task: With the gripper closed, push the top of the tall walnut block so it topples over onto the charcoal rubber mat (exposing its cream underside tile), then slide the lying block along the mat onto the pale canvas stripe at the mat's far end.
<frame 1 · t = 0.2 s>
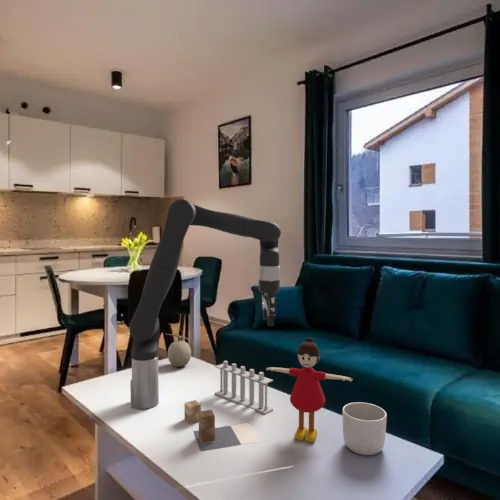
hand: (268, 323, 151), 29 cm above the table, fingers open, 8 cm apart
fruit: (180, 366, 192), on the table
mat: (226, 437, 128), on the table
walnut block: (206, 439, 126), resting on mat
planter: (363, 448, 123), on the table
test tube rack: (242, 402, 153), on the table
oak block: (192, 421, 138), on the table
toy: (307, 435, 130), on the table
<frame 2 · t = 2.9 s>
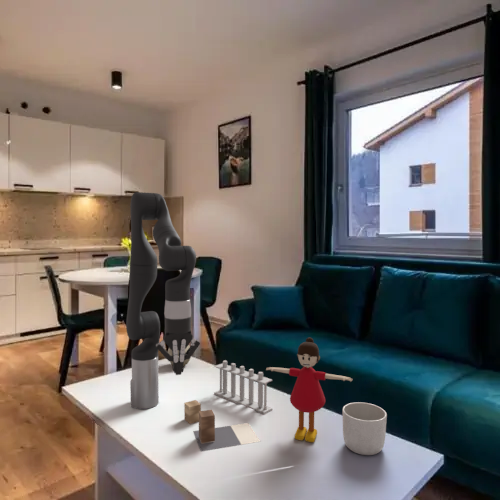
hand: (178, 373, 122), 21 cm above the table, fingers closed
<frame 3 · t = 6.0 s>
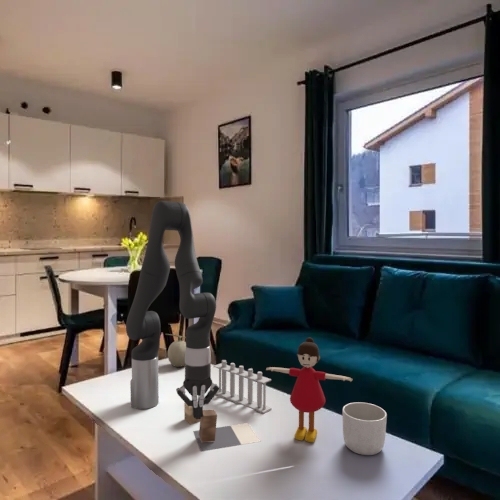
hand: (197, 418, 125), 7 cm above the table, fingers closed
walnut block: (206, 438, 126), point 1 cm above the table, tilted 5°, touching gripper, mat
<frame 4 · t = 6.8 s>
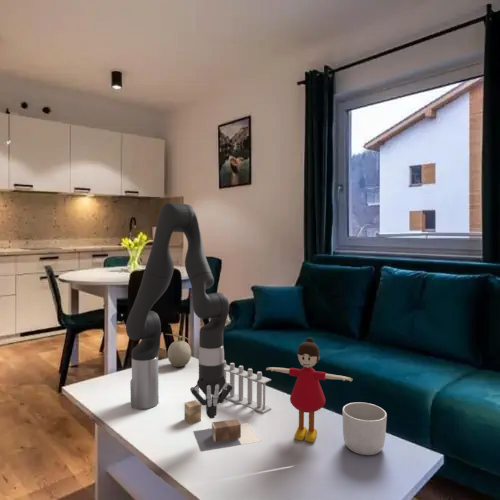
hand: (211, 417, 126), 7 cm above the table, fingers closed
walnut block: (213, 431, 127), point 2 cm above the table, tilted 90°, touching mat
everything else where it was.
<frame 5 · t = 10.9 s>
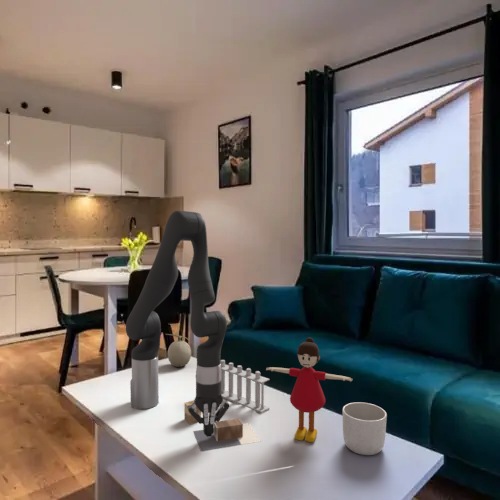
hand: (208, 435, 126), 2 cm above the table, fingers closed
walnut block: (215, 431, 127), point 2 cm above the table, tilted 90°, touching gripper
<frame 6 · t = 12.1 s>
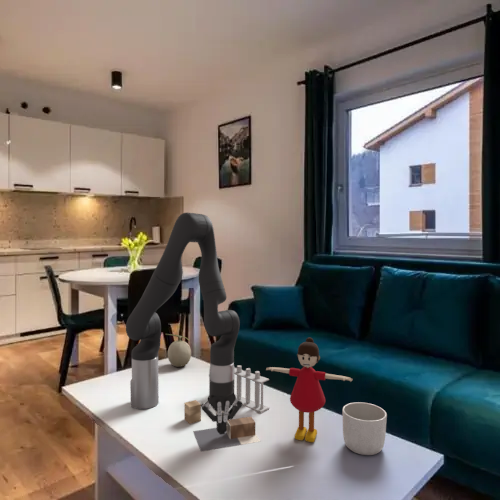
hand: (221, 432, 127), 2 cm above the table, fingers closed
walnut block: (228, 429, 128), point 2 cm above the table, tilted 90°, touching gripper, mat
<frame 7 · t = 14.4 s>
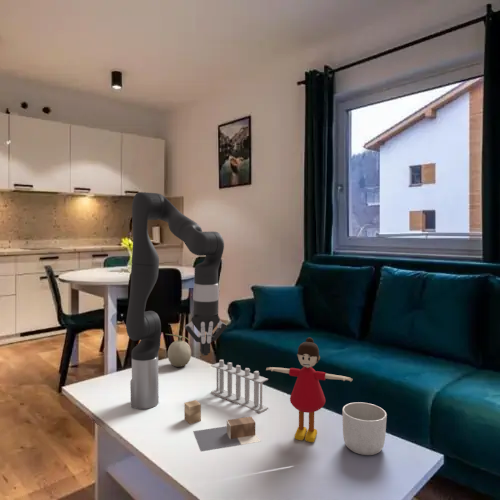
hand: (205, 354, 127), 25 cm above the table, fingers closed
walnut block: (228, 429, 128), point 2 cm above the table, tilted 90°, touching mat
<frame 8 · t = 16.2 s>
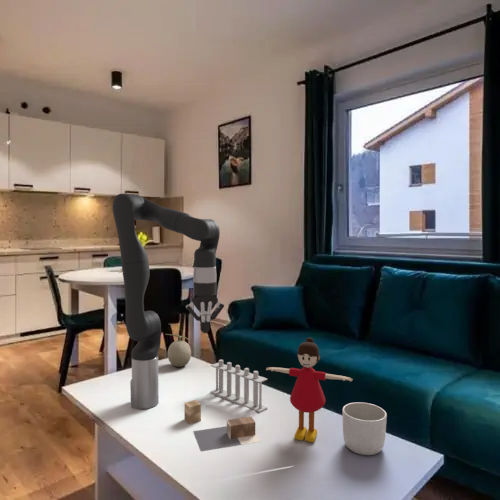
hand: (205, 332, 139), 29 cm above the table, fingers closed
at the end: walnut block tilted 90°; walnut block inside the target area (1.6 cm from its centre), point 2.4 cm above the table; walnut block moved 7.0 cm from its start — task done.
